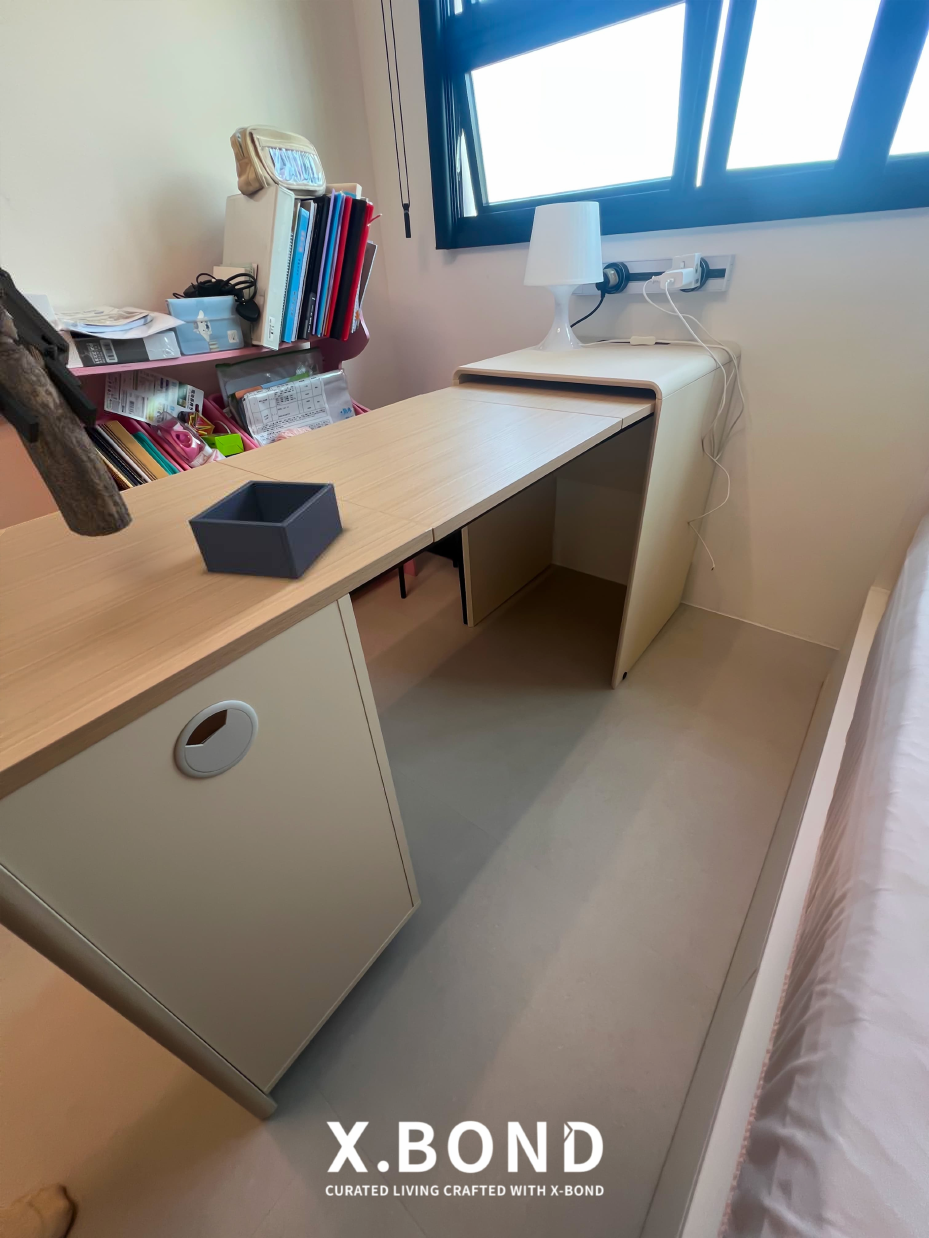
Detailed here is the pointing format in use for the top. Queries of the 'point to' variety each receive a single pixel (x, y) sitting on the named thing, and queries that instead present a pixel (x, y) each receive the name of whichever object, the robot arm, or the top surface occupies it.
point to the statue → (60, 442)
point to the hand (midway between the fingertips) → (64, 425)
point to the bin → (268, 528)
